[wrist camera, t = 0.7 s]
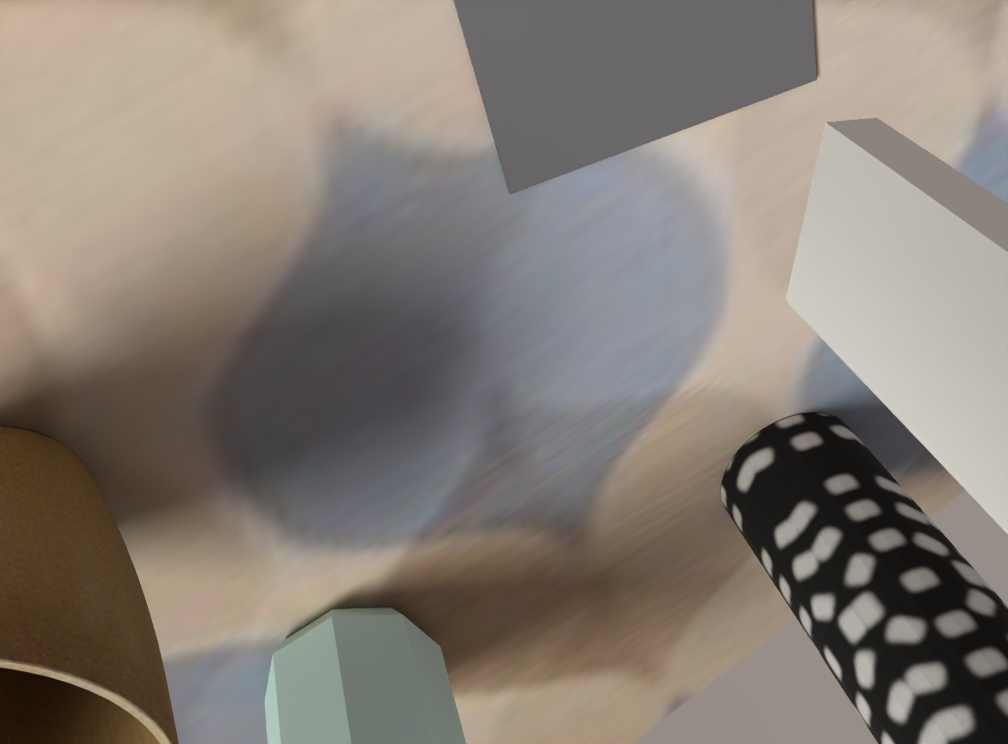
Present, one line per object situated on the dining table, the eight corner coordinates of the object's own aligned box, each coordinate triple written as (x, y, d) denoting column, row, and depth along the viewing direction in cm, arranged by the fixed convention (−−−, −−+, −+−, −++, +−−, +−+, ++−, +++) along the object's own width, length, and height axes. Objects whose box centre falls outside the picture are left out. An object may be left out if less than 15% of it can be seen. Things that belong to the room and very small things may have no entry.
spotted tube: (723, 541, 58) (925, 865, 42) (717, 440, 52) (943, 765, 37) (851, 498, 58) (1096, 799, 43) (857, 393, 53) (1137, 692, 38)
